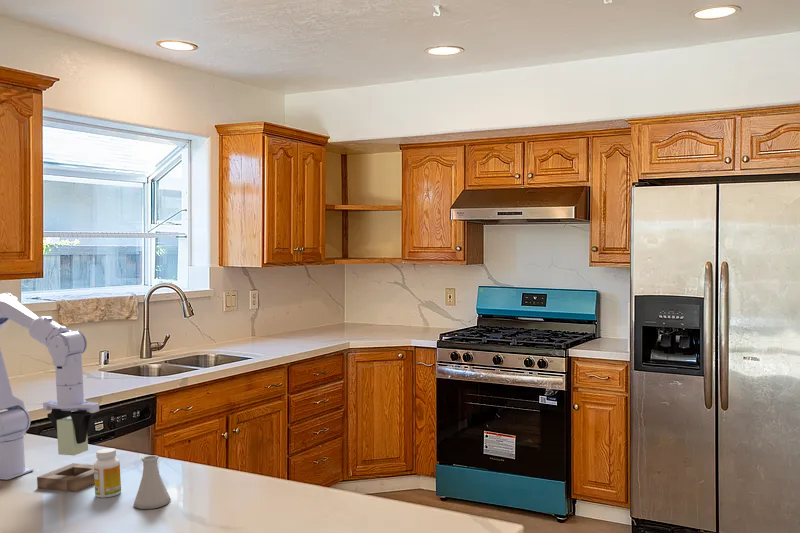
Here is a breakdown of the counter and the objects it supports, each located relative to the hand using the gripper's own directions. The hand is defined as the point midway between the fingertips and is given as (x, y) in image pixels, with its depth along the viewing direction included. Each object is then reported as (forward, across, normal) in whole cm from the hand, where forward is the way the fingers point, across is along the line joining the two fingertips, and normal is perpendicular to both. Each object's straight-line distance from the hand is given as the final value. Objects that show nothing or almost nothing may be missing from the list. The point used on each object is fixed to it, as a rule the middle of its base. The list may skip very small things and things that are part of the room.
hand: (72, 441), depth 177 cm
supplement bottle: (+10, -14, +5) cm, 18 cm away
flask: (+10, -28, +8) cm, 31 cm away
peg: (+2, 0, 0) cm, 2 cm away
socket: (+9, 0, 0) cm, 9 cm away
